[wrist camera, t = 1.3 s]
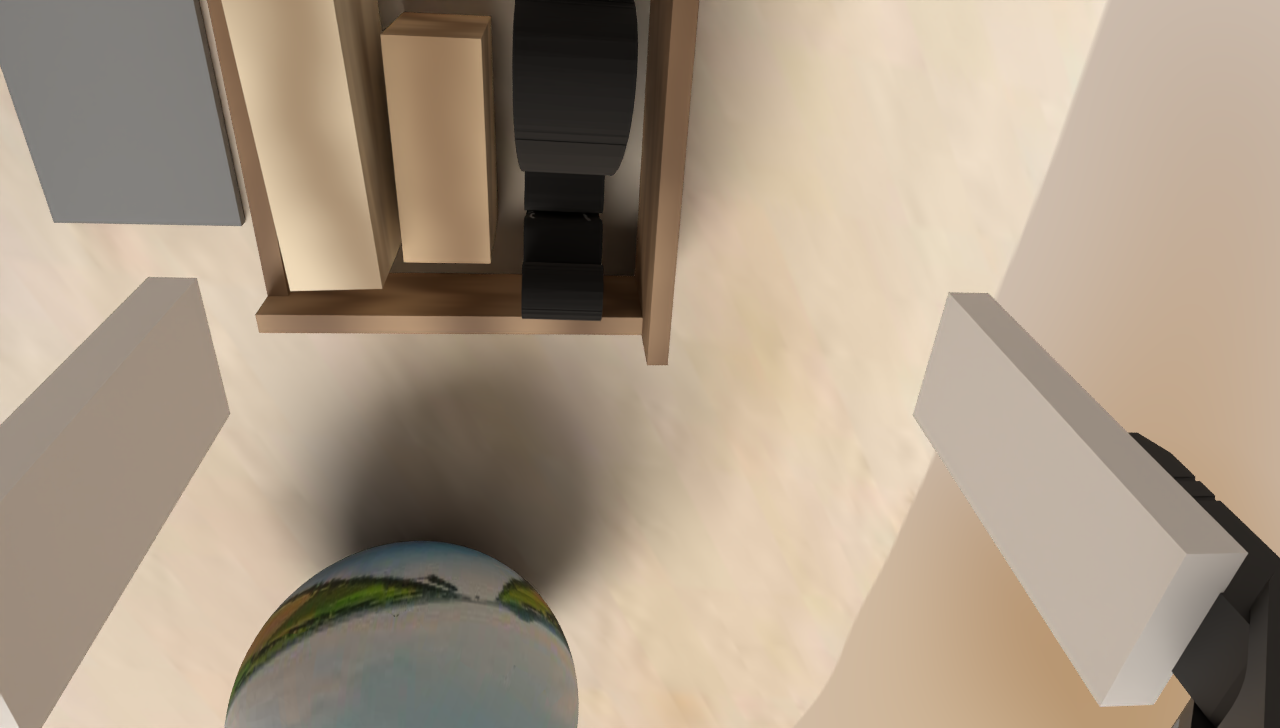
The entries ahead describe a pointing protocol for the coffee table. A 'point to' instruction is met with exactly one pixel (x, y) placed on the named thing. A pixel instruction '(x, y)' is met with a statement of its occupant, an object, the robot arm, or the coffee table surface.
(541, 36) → the sign
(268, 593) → the coffee table surface
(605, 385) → the coffee table surface
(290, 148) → the block
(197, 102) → the felt mat
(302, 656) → the decorative sphere
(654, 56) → the tray
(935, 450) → the robot arm
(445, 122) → the offcut short
